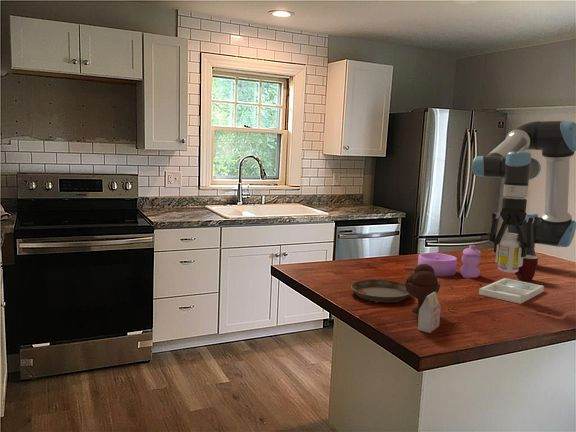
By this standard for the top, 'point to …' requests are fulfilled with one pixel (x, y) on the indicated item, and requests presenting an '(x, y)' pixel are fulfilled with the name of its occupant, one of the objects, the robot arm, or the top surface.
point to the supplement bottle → (509, 253)
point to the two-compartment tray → (511, 291)
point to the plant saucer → (381, 290)
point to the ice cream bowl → (421, 284)
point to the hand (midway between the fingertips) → (508, 264)
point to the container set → (453, 263)
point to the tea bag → (429, 314)
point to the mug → (527, 268)
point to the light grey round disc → (518, 286)
